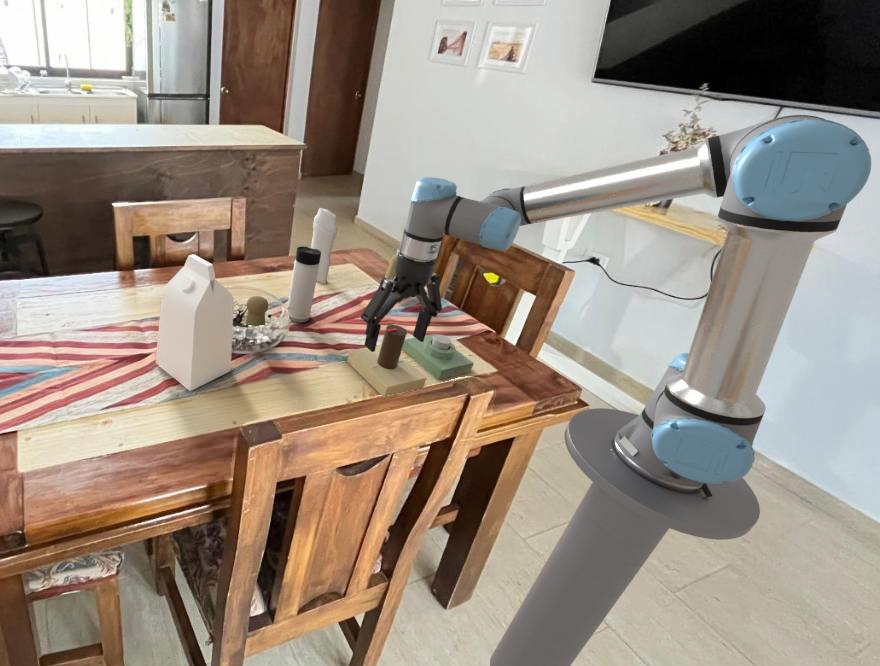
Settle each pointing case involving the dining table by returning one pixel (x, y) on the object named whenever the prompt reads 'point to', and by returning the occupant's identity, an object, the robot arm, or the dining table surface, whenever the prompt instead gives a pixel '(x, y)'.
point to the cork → (256, 310)
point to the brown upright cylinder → (391, 346)
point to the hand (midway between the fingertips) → (394, 343)
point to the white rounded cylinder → (324, 240)
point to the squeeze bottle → (392, 269)
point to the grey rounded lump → (441, 342)
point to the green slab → (438, 357)
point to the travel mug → (303, 283)
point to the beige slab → (386, 372)
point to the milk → (195, 325)
